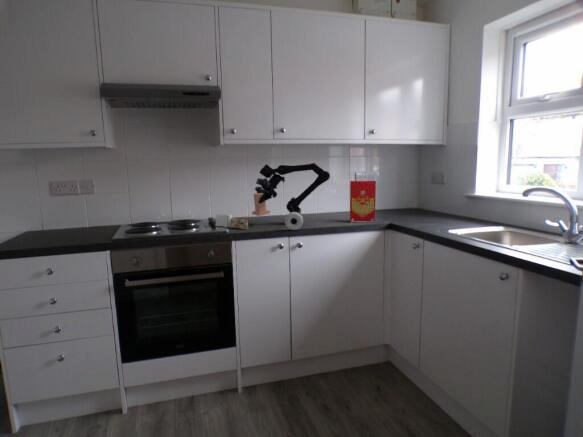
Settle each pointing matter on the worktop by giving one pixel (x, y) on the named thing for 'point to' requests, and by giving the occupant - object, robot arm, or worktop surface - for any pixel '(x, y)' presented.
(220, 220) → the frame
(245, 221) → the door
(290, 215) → the donut
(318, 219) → the worktop surface
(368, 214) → the food packaging
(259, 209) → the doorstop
